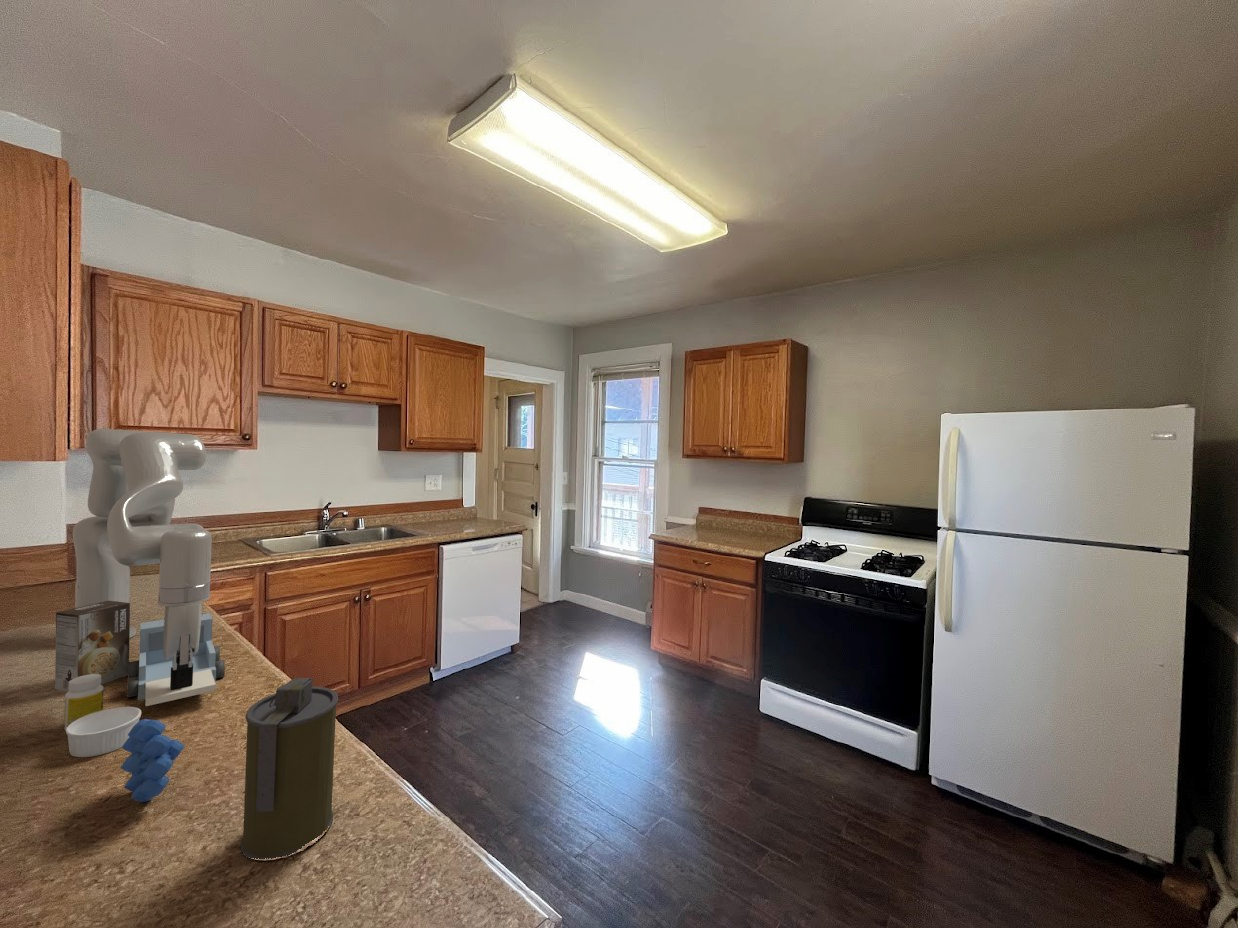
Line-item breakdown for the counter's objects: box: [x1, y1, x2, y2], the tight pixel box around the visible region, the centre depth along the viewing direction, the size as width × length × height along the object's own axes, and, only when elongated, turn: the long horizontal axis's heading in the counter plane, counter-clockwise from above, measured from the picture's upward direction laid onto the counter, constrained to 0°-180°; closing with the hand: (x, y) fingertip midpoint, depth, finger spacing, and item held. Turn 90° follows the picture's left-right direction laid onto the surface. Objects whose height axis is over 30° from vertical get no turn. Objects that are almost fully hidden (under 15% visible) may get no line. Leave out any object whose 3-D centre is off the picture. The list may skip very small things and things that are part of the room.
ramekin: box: [65, 706, 142, 758], centre depth 84 cm, size 9×9×4 cm
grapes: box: [120, 718, 186, 803], centre depth 72 cm, size 12×7×12 cm, turn 59°
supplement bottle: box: [63, 674, 104, 731], centre depth 89 cm, size 5×5×8 cm
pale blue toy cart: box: [126, 612, 226, 701], centre depth 108 cm, size 16×15×11 cm
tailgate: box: [144, 669, 217, 707], centre depth 98 cm, size 1×10×11 cm
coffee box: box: [54, 601, 131, 693], centre depth 104 cm, size 9×6×16 cm
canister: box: [240, 677, 339, 859], centre depth 67 cm, size 11×10×20 cm
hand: (181, 686), depth 96 cm, fingers closed
